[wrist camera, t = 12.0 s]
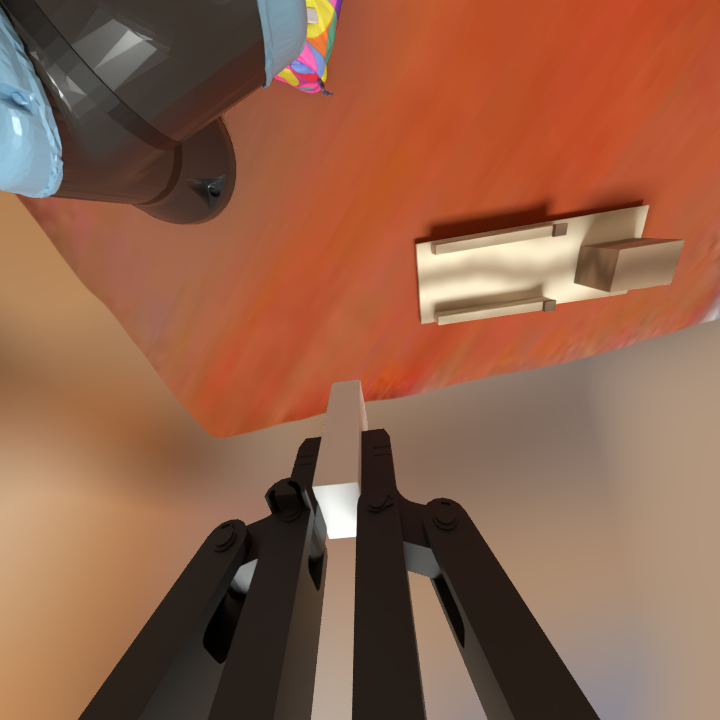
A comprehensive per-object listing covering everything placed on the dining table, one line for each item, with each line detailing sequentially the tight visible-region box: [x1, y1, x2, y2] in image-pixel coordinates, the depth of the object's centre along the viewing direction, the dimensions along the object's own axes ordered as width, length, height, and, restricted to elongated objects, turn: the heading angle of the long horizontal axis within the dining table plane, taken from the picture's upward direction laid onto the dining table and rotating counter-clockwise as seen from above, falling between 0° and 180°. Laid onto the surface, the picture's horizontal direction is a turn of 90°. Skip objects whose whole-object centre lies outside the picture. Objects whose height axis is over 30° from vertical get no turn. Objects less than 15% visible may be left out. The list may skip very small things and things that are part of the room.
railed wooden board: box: [415, 205, 649, 325], centre depth 38 cm, size 12×30×4 cm, turn 99°
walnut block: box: [574, 238, 685, 293], centre depth 36 cm, size 5×7×6 cm
